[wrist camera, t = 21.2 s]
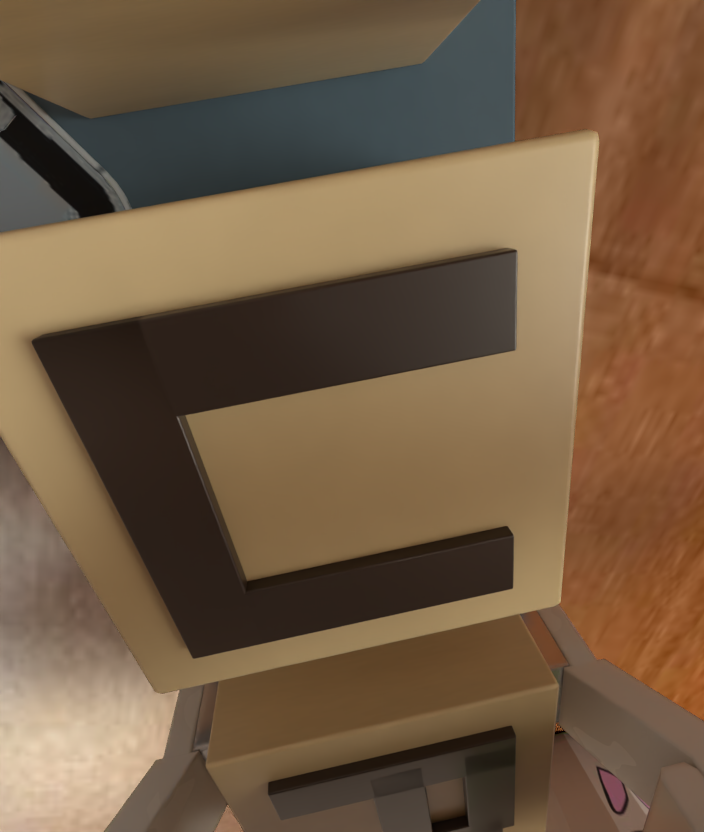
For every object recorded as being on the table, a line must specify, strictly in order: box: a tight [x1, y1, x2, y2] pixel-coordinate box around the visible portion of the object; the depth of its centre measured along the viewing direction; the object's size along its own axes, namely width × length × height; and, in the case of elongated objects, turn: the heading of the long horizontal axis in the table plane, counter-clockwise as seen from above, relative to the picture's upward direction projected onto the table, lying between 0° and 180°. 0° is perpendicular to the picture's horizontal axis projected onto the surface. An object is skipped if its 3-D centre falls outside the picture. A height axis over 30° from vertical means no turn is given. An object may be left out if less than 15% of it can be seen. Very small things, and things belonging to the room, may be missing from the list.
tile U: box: [0, 129, 599, 694], centre depth 6 cm, size 5×5×5 cm
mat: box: [23, 0, 516, 209], centre depth 8 cm, size 20×8×1 cm, turn 9°
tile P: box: [206, 614, 559, 832], centre depth 9 cm, size 5×5×5 cm
